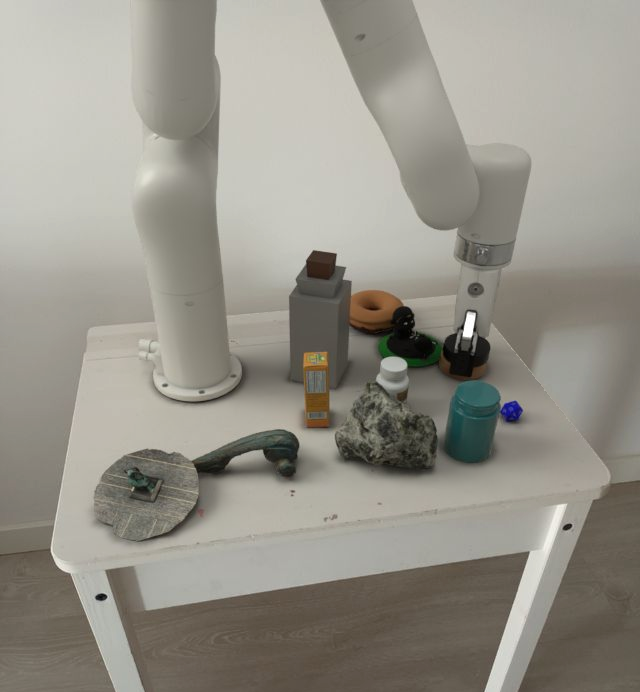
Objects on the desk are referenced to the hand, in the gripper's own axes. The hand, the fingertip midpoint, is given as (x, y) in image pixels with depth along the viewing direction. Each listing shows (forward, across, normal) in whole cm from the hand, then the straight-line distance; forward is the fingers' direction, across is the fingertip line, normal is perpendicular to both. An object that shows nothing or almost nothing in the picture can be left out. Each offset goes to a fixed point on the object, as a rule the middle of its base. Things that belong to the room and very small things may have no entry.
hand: (463, 356), depth 97 cm
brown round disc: (+2, 0, 0) cm, 2 cm away
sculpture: (+4, -39, +34) cm, 52 cm away
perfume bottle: (+2, -7, +20) cm, 21 cm away
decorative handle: (+2, -30, +24) cm, 39 cm away
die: (+2, -10, -8) cm, 13 cm away
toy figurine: (+2, +2, +8) cm, 9 cm away
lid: (-2, 0, 0) cm, 2 cm away
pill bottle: (+2, -14, +8) cm, 16 cm away
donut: (-2, +9, +16) cm, 18 cm away
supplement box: (+2, -18, +17) cm, 25 cm away
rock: (+2, -23, +8) cm, 24 cm away
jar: (+2, -18, -2) cm, 18 cm away
